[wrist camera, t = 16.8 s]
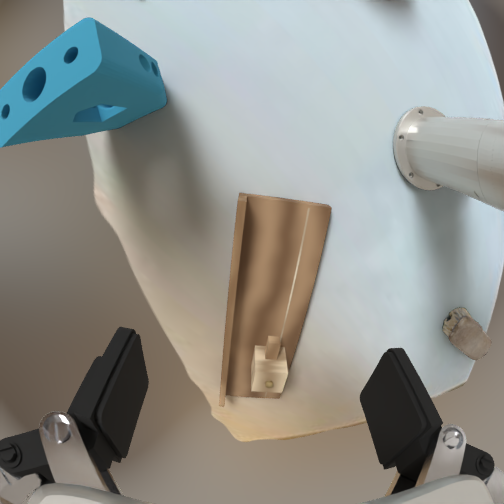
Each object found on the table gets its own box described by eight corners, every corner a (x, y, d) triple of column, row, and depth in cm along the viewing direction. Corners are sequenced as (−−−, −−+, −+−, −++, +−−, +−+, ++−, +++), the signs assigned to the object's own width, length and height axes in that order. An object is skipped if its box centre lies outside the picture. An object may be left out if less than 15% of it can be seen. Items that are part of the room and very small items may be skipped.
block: (104, 136, 31) (-4, 152, 13) (95, 105, 29) (-12, 102, 11) (181, 100, 30) (104, 66, 12) (171, 68, 28) (93, 12, 10)
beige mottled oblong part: (487, 333, 48) (497, 344, 44) (469, 353, 51) (478, 365, 46) (457, 299, 43) (470, 313, 39) (434, 327, 46) (445, 341, 41)
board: (328, 204, 36) (338, 214, 31) (278, 392, 51) (280, 409, 47) (239, 192, 35) (237, 200, 31) (220, 388, 50) (219, 406, 46)
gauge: (288, 331, 42) (293, 361, 36) (275, 379, 47) (278, 406, 41) (257, 329, 42) (258, 359, 36) (249, 377, 47) (248, 405, 41)
